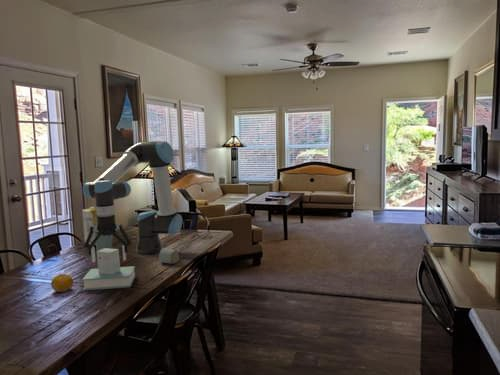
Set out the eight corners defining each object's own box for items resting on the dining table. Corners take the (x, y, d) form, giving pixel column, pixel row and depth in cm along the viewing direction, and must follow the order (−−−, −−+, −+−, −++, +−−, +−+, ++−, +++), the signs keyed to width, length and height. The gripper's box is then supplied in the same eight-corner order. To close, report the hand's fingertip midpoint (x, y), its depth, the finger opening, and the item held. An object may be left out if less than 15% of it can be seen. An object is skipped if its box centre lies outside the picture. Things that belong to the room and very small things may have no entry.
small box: (120, 271, 178) (119, 248, 176) (112, 275, 172) (111, 252, 171) (106, 269, 180) (104, 247, 179) (98, 273, 175) (96, 251, 174)
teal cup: (91, 253, 226) (90, 233, 225) (104, 249, 236) (103, 229, 234) (105, 255, 223) (104, 234, 221) (117, 250, 232) (116, 230, 230)
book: (91, 279, 182) (91, 269, 182) (135, 276, 185) (134, 266, 184) (83, 290, 169) (82, 279, 168) (130, 287, 171) (129, 276, 171)
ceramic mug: (172, 265, 200) (171, 251, 199) (158, 264, 203) (158, 250, 202) (183, 260, 209) (182, 246, 209) (170, 258, 212) (169, 245, 212)
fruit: (55, 288, 162) (59, 270, 166) (45, 292, 166) (49, 273, 170) (74, 292, 168) (78, 274, 172) (64, 295, 172) (68, 277, 176)
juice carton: (102, 243, 248) (100, 206, 245) (92, 246, 241) (89, 208, 239) (93, 242, 253) (91, 205, 250) (82, 245, 246) (80, 207, 244)
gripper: (73, 218, 168) (78, 265, 171) (133, 215, 171) (136, 261, 174) (79, 214, 175) (83, 260, 178) (135, 211, 178) (138, 256, 181)
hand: (109, 260), depth 176 cm, fingers open, 13 cm apart
